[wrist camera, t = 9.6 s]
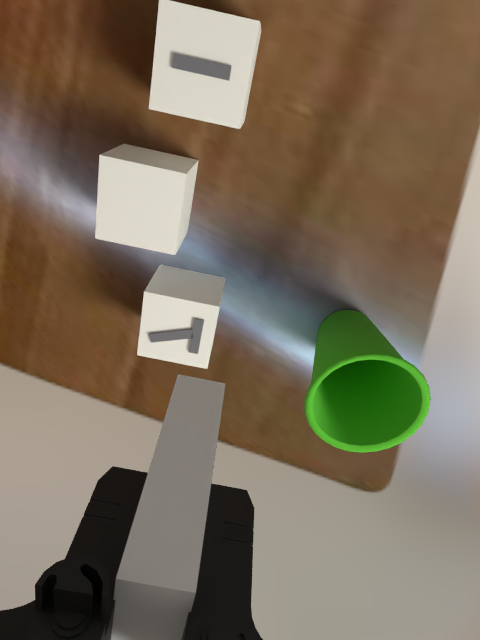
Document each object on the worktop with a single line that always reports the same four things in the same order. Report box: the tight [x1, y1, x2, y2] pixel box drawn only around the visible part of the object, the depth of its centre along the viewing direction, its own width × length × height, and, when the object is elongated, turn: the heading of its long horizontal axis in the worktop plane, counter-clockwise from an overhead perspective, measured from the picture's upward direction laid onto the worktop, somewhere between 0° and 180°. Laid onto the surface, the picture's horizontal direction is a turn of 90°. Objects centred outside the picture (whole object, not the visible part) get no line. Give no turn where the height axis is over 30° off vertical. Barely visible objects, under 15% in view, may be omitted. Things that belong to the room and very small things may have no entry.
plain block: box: [95, 144, 198, 255], centre depth 35 cm, size 6×6×6 cm
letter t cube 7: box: [137, 264, 226, 369], centre depth 40 cm, size 6×6×6 cm
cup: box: [304, 310, 430, 452], centre depth 38 cm, size 9×9×11 cm
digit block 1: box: [149, 0, 261, 129], centre depth 31 cm, size 6×6×6 cm
